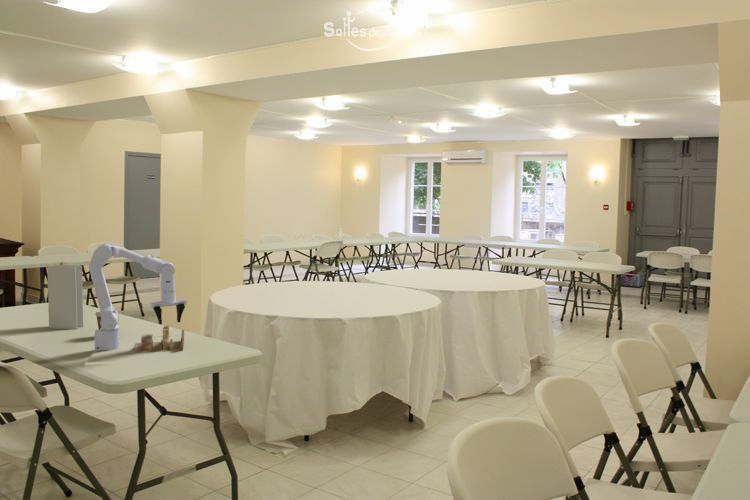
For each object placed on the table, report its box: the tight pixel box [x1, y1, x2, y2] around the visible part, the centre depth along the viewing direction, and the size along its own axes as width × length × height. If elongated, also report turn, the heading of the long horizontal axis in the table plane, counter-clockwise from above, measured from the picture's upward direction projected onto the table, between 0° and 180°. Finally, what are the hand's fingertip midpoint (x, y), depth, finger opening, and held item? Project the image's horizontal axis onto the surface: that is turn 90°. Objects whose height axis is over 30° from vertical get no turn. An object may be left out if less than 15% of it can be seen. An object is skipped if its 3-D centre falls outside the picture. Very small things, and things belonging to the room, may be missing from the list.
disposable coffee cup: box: [95, 308, 119, 330], centre depth 285 cm, size 10×10×12 cm
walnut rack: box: [130, 329, 185, 354], centre depth 263 cm, size 20×18×6 cm
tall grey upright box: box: [46, 264, 84, 330], centre depth 304 cm, size 14×6×30 cm, turn 84°
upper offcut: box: [140, 333, 154, 343], centre depth 261 cm, size 4×5×2 cm
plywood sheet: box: [162, 324, 170, 349], centre depth 263 cm, size 2×10×8 cm, turn 15°
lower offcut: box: [140, 339, 154, 350], centre depth 262 cm, size 4×7×2 cm, turn 15°
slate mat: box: [153, 334, 179, 338], centre depth 280 cm, size 12×13×1 cm
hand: (169, 322), depth 266 cm, fingers open, 7 cm apart
